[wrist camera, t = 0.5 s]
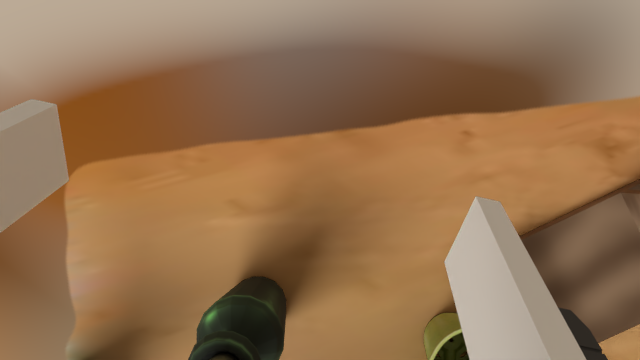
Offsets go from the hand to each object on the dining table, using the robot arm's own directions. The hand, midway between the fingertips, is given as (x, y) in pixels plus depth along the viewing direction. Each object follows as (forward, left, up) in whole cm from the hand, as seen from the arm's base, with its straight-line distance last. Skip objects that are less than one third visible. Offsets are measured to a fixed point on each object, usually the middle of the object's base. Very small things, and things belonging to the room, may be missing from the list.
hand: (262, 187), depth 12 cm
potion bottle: (-11, +12, -32) cm, 36 cm away
